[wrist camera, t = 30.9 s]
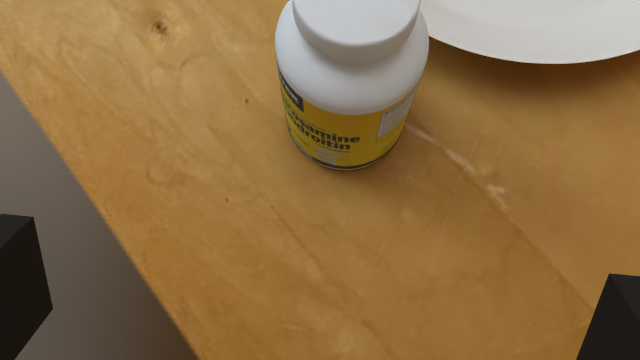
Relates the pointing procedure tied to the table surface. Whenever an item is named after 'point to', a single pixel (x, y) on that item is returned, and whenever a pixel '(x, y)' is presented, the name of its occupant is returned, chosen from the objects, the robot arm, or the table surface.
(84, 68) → the table surface
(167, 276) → the table surface
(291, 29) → the pill bottle
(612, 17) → the white plate
